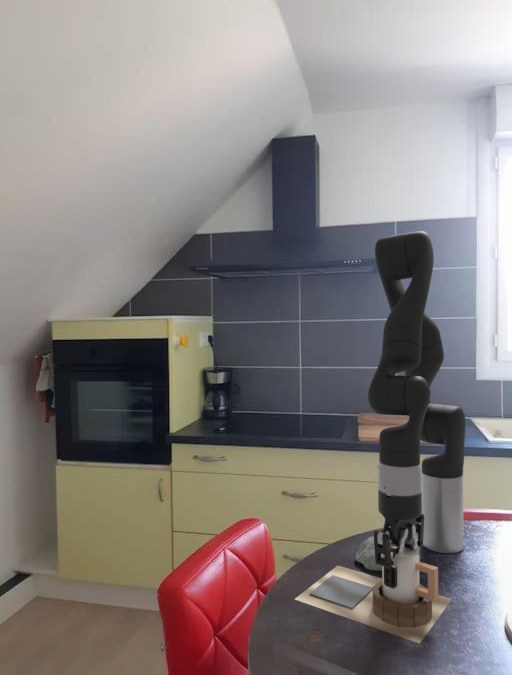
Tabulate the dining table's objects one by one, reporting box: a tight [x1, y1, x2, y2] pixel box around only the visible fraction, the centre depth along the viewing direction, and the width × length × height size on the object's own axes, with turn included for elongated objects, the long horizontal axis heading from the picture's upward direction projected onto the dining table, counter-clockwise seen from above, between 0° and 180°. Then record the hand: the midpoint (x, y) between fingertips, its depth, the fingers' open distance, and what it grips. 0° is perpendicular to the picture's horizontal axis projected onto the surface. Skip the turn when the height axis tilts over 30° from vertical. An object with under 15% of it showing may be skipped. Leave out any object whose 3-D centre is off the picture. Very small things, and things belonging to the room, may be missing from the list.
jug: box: [381, 547, 439, 604], centre depth 96 cm, size 11×6×10 cm, turn 46°
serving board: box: [294, 565, 453, 645], centre depth 101 cm, size 17×24×5 cm
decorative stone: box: [355, 534, 422, 572], centre depth 116 cm, size 13×11×10 cm
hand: (400, 579), depth 97 cm, fingers closed on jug, 6 cm apart
